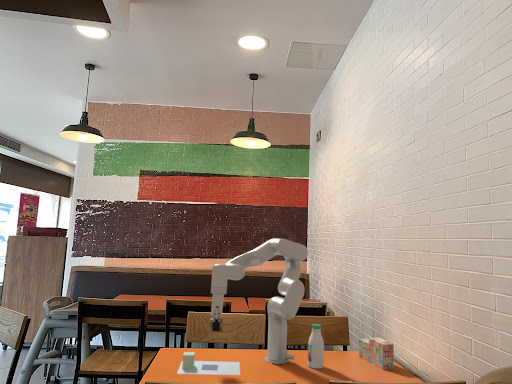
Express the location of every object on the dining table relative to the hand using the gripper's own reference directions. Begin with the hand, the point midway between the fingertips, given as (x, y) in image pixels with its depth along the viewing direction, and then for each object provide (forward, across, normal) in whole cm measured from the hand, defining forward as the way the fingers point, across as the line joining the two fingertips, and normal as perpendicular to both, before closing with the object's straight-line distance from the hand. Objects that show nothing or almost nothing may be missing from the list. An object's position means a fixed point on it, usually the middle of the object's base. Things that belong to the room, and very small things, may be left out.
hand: (216, 328), depth 183 cm
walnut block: (+1, 0, 0) cm, 1 cm away
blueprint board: (+18, 0, -2) cm, 18 cm away
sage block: (+18, -1, -12) cm, 21 cm away
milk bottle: (+17, -6, +50) cm, 53 cm away
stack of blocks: (+17, -15, +83) cm, 86 cm away
